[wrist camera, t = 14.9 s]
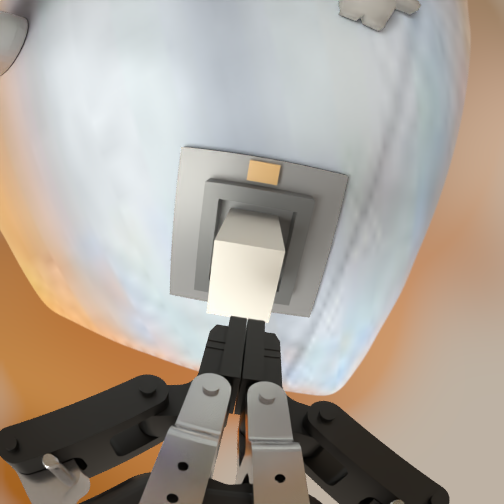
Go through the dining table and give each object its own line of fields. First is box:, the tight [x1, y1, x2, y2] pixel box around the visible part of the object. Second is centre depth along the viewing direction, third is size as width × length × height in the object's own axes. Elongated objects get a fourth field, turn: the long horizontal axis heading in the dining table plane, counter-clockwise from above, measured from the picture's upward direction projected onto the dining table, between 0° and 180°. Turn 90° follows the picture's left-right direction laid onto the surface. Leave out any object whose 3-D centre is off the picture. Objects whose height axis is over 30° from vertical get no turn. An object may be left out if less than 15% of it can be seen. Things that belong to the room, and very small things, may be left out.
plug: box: [207, 208, 285, 323], centre depth 20 cm, size 4×5×8 cm
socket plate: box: [170, 147, 348, 317], centre depth 23 cm, size 14×14×3 cm
